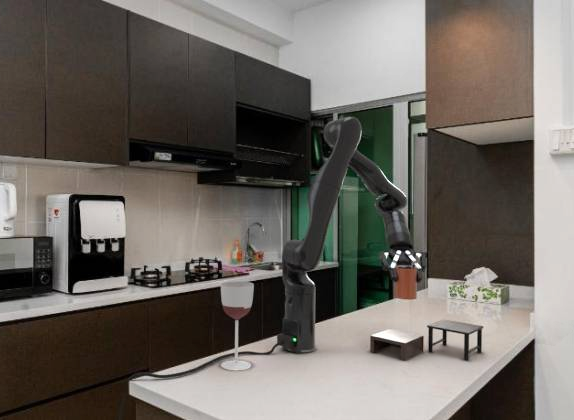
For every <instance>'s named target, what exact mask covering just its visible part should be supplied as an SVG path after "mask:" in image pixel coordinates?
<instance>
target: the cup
mask: <svg viewBox="0 0 574 420" xmlns="http://www.w3.org/2000/svg"><path fill="white" fill-rule="evenodd" d="M395 269H396V274H397V282H394V298H395V299H400V300H409V301H411V300H416V299H417V297H418V283H417V268H414V267H409V266H396V267H395Z"/></svg>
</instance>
